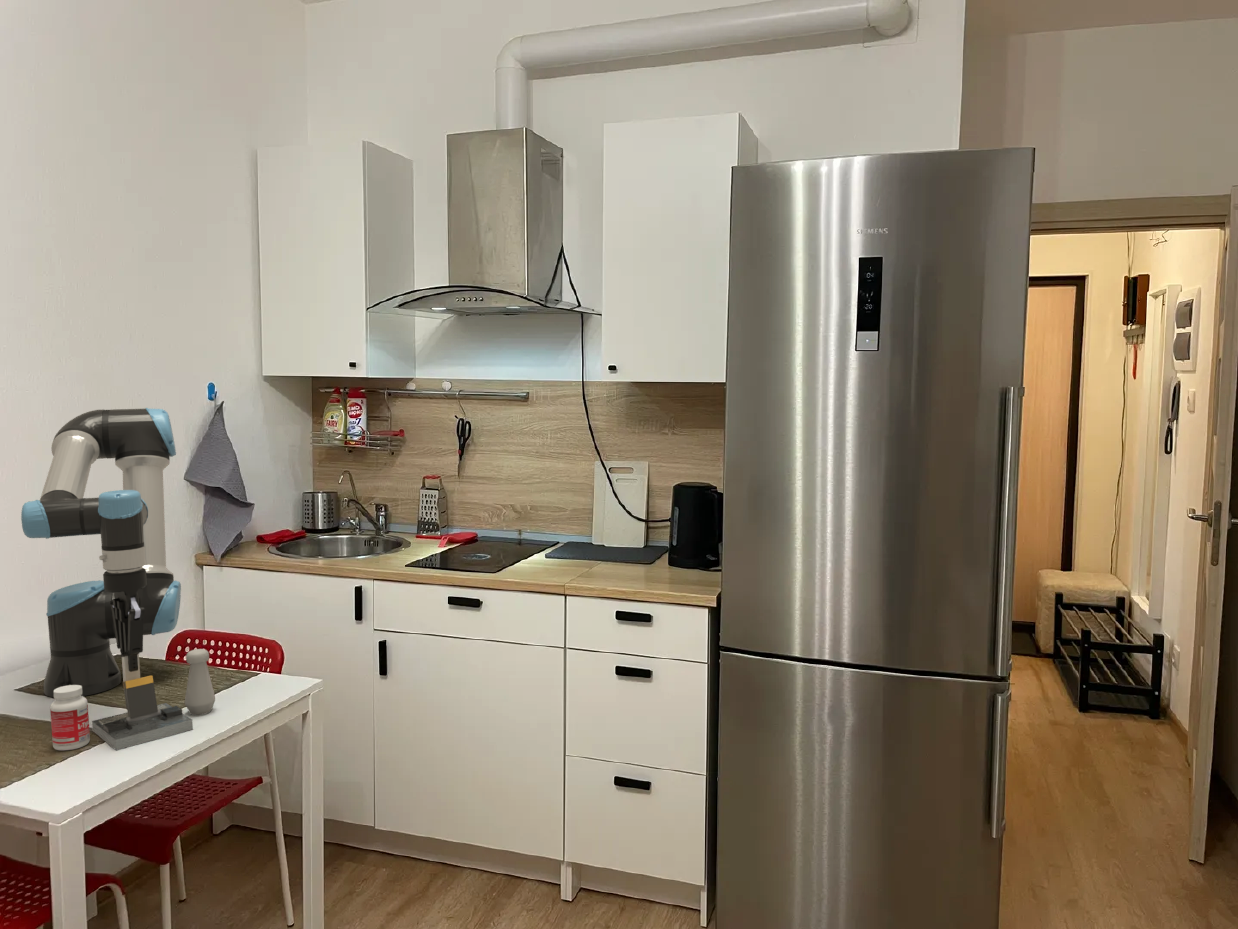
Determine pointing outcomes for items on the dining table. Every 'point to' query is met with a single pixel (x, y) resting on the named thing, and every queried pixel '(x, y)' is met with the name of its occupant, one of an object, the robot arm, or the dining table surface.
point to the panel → (141, 727)
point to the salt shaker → (199, 683)
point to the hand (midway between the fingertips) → (132, 685)
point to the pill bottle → (69, 718)
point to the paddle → (140, 699)
